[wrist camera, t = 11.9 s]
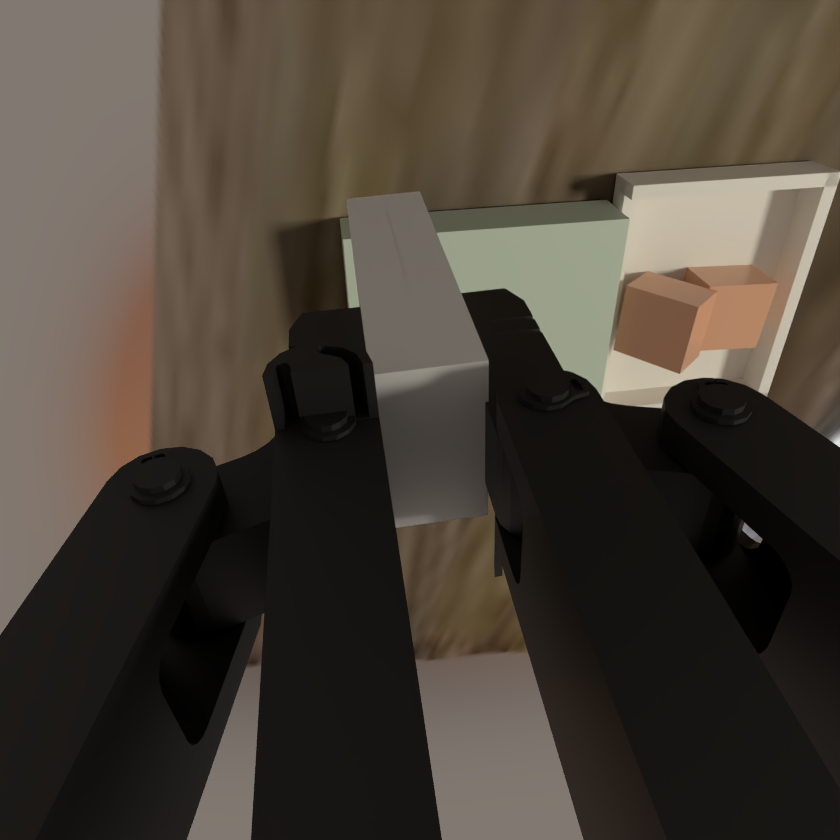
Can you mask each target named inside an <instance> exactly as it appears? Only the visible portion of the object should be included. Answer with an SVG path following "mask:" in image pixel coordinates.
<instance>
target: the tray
mask: <svg viewBox="0 0 840 840" xmlns="http://www.w3.org/2000/svg"><path fill="white" fill-rule="evenodd" d="M839 179H840V171H839V170H836V169H834V168H831V167H829V166H827V165H824V164H822V163H819V162H817V161H803V162H787V163H772V164H756V165H741V166H725V167H710V168H694V169H679V170H663V171H648V172H632V173H617V175H616V182H615V189H614V196H613V202H612V204H613V205H614V206H615V207H616V208H617V209H619V210H620V211H621V212H622V213H623V214H625V215H626V216H627V217H628V218H630V221H629V227H628V233H627V239H626V245H625V252H624V258H623V264H622V270H621V276H620V282H619V288H618V295H617V301H616V307H615V313H614V319H613V325H612V332H611V338H610V344H609V350H608V356H607V362H606V368H605V375H604V381H603V387H602V393H601V397H602V399H603V400H604V401H605V402H609V403H613V404H620V405H627V406H640V407H653V408H662V404H663V399H664V396H665V395H666V393H667V392H668V391H669V389H670V388H671V387H672V386H674V385H676V384H678V383H680V382H682V381H684V380H691V379H697V378H720V379H726V380H729V381H733V382H737V383H740V384H744V385H746V386H748V387H750V388H752V389H754V390H756V391H758V392H760V393H762V394H763V395H765V396H766V397H767V394H768V391H769V388H770V386H771V383H772V380H773V377H774V374H775V371H776V368H777V365H778V362H779V359H780V356H781V353H782V350H783V347H784V344H785V341H786V338H787V335H788V332H789V329H790V326H791V323H792V320H793V317H794V314H795V311H796V308H797V305H798V302H799V299H800V296H801V293H802V290H803V287H804V284H805V281H806V278H807V275H808V272H809V269H810V266H811V263H812V260H813V257H814V254H815V251H816V248H817V245H818V242H819V239H820V236H821V233H822V230H823V227H824V224H825V221H826V218H827V215H828V212H829V209H830V206H831V203H832V200H833V197H834V194H835V191H836V188H837V185H838V182H839ZM730 265H753V266H754V267H756V268H757V269H759V270H760V271H762V272H763V273H764V274H766V275H767V276H769V277H770V278H772V279H773V280H774V281H776V282H777V283H778V286H777V289H776V292H775V294H774V297H773V300H772V303H771V306H770V309H769V312H768V314H767V317H766V320H765V323H764V326H763V329H762V332H761V334H760V337H759V340H758V343H757V346H756V348H740V349H723V350H705V351H700V354H699V356H698V357H697V358H696V359H695V360H694V361H693V362H692V363H691V364H690V365H689V366H688V367H687V368H686V369H685V370H684V371H683V372H682V373H680V374H678V373H675V372H673V371H670V370H667V369H664V368H662V367H659V366H656V365H653V364H650V363H648V362H645V361H642V360H639V359H637V358H634V357H631V356H628V355H626V354H623V353H620V352H617V351H615V350H613V348H614V344H615V339H616V334H617V329H618V324H619V320H620V315H621V310H622V305H623V301H624V296H625V291H626V286H627V285H628V284H629V283H631V282H633V281H634V280H636V279H637V278H639V277H640V276H642V275H643V274H645V273H646V272H648V271H649V272H653V273H656V274H659V275H663V276H666V277H670V278H673V279H677V280H680V281H684V277H685V274H686V270H687V267H705V266H730Z"/></svg>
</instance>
